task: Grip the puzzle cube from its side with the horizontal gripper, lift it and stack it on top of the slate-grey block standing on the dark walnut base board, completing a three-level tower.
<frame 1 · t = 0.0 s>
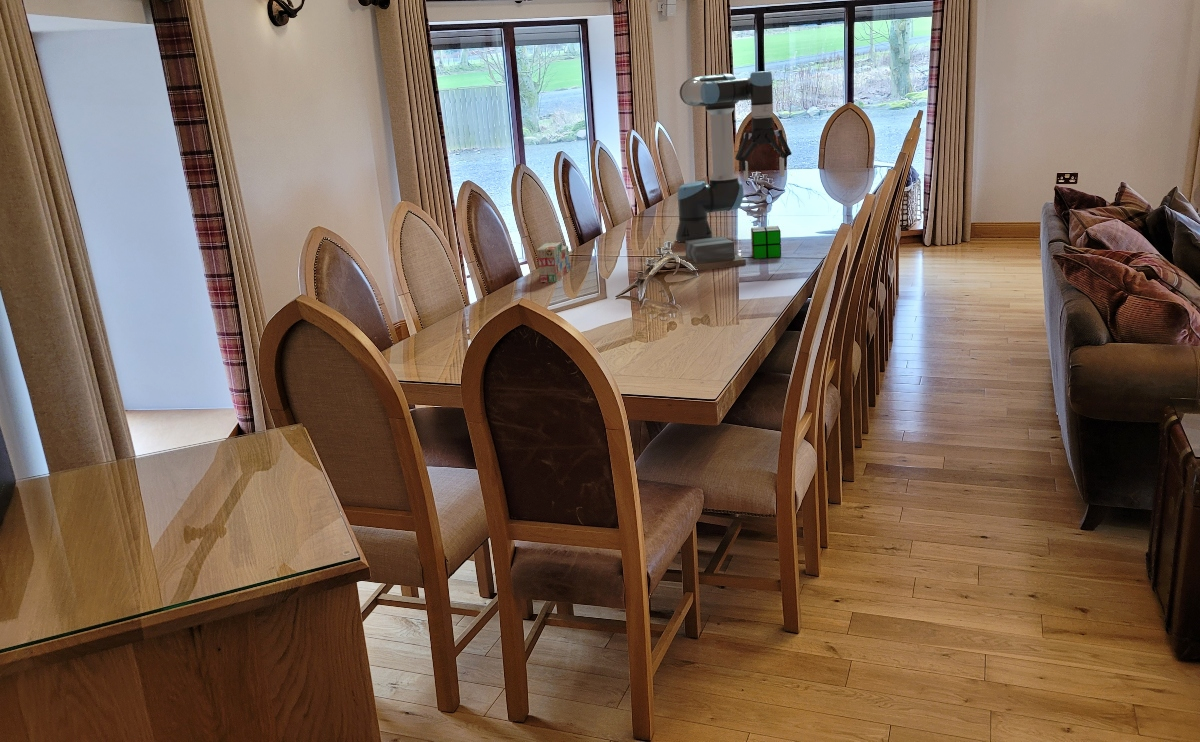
hand: (764, 178, 335), 28 cm above the table, tool pointing down, fingers open, 13 cm apart
tower base: (710, 263, 337), on the table
stack of blocks: (555, 277, 338), on the table
puzzle cube: (766, 256, 342), on the table
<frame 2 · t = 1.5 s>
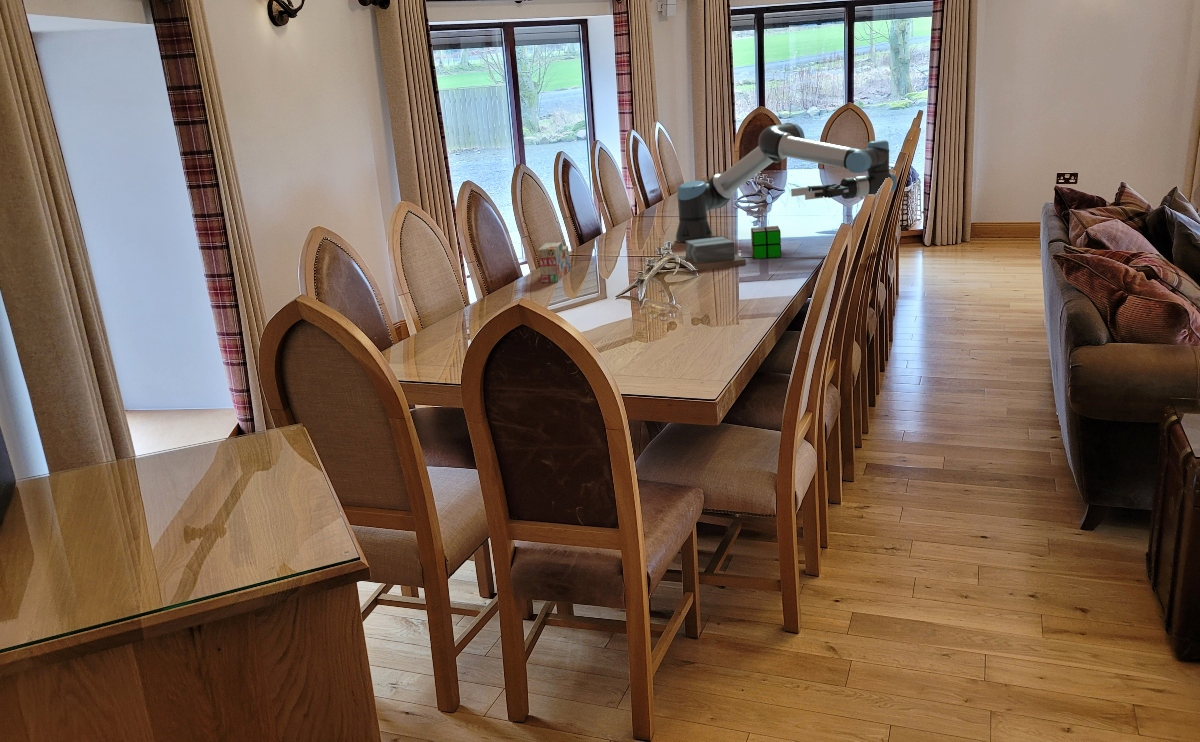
hand: (798, 194, 338), 21 cm above the table, tool horizontal, fingers open, 13 cm apart
nothing on the table moved.
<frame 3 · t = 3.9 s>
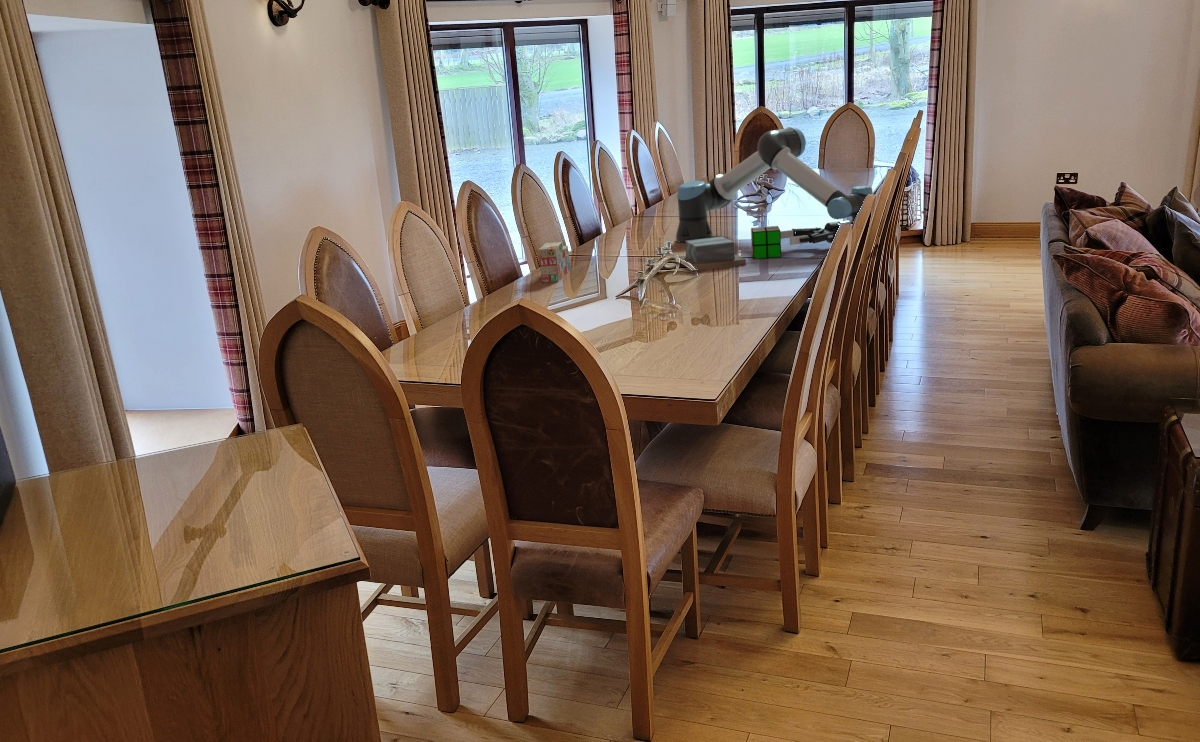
hand: (783, 238, 341), 6 cm above the table, tool horizontal, fingers open, 13 cm apart
nothing on the table moved.
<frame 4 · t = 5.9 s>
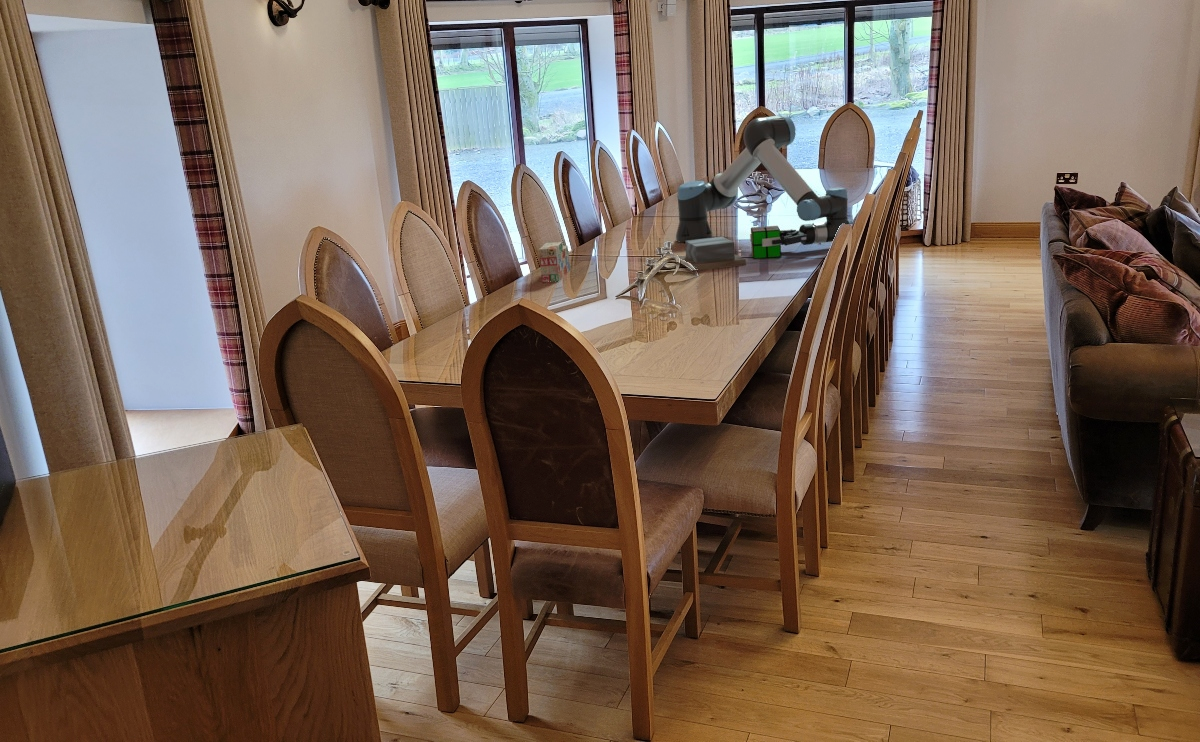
hand: (756, 240, 340), 6 cm above the table, tool horizontal, fingers closed on puzzle cube, 12 cm apart
puzzle cube: (766, 256, 343), on the table, touching gripper
everything else where it was.
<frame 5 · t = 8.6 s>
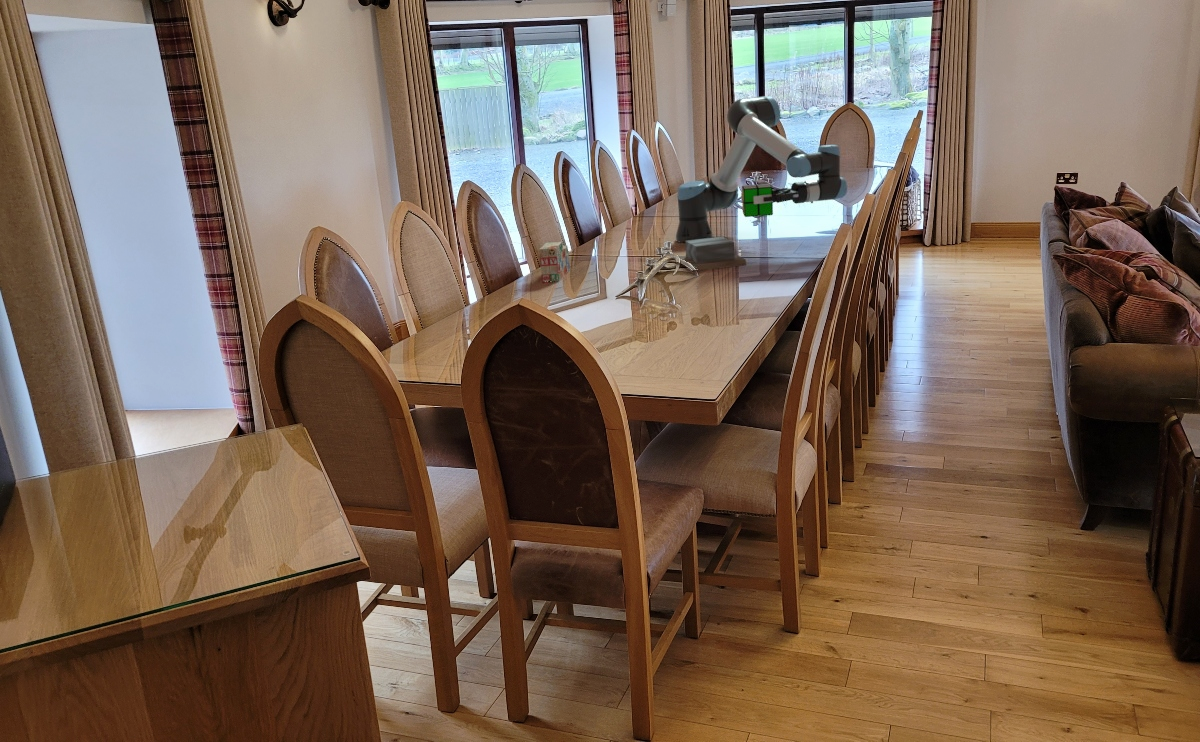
hand: (747, 198, 334), 22 cm above the table, tool horizontal, fingers closed on puzzle cube, 12 cm apart
puzzle cube: (757, 214, 336), point 15 cm above the table, touching gripper
when the fingers open (15 cm above the table, at t = 11.5 s): puzzle cube drops 1 cm, resting on tower base.
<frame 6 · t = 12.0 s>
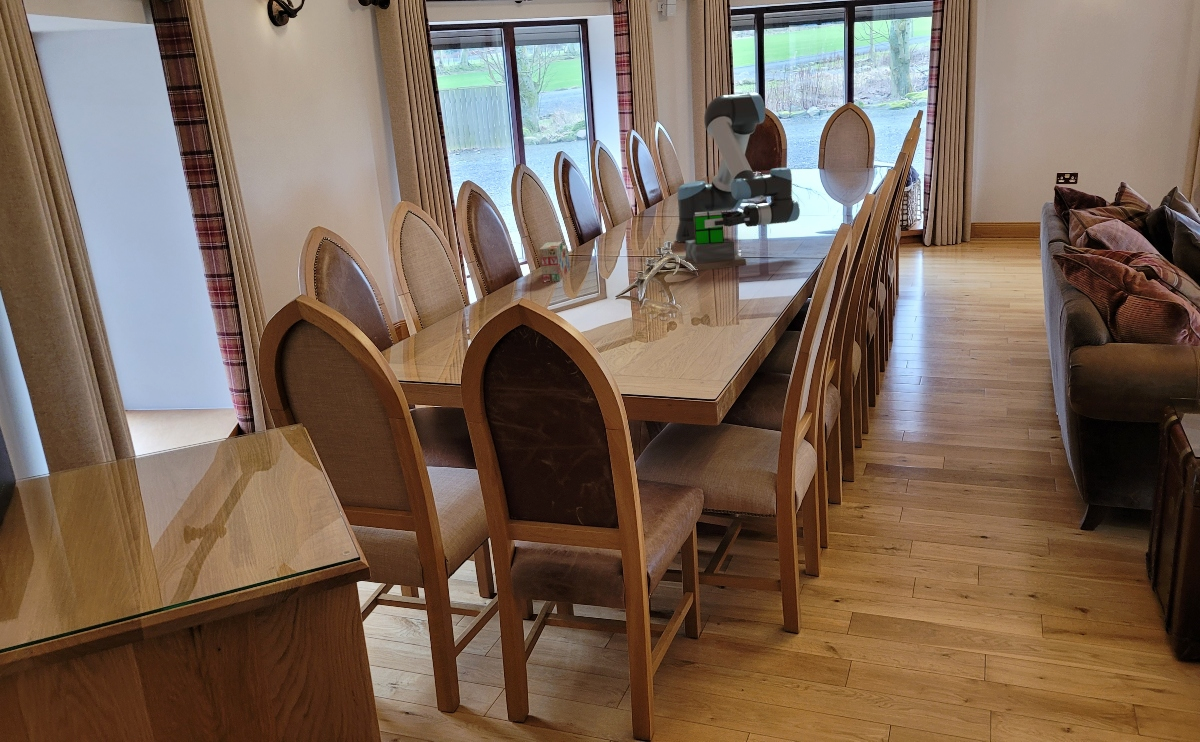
hand: (699, 221, 332), 15 cm above the table, tool horizontal, fingers open, 13 cm apart
puzzle cube: (709, 241, 335), point 8 cm above the table, touching tower base
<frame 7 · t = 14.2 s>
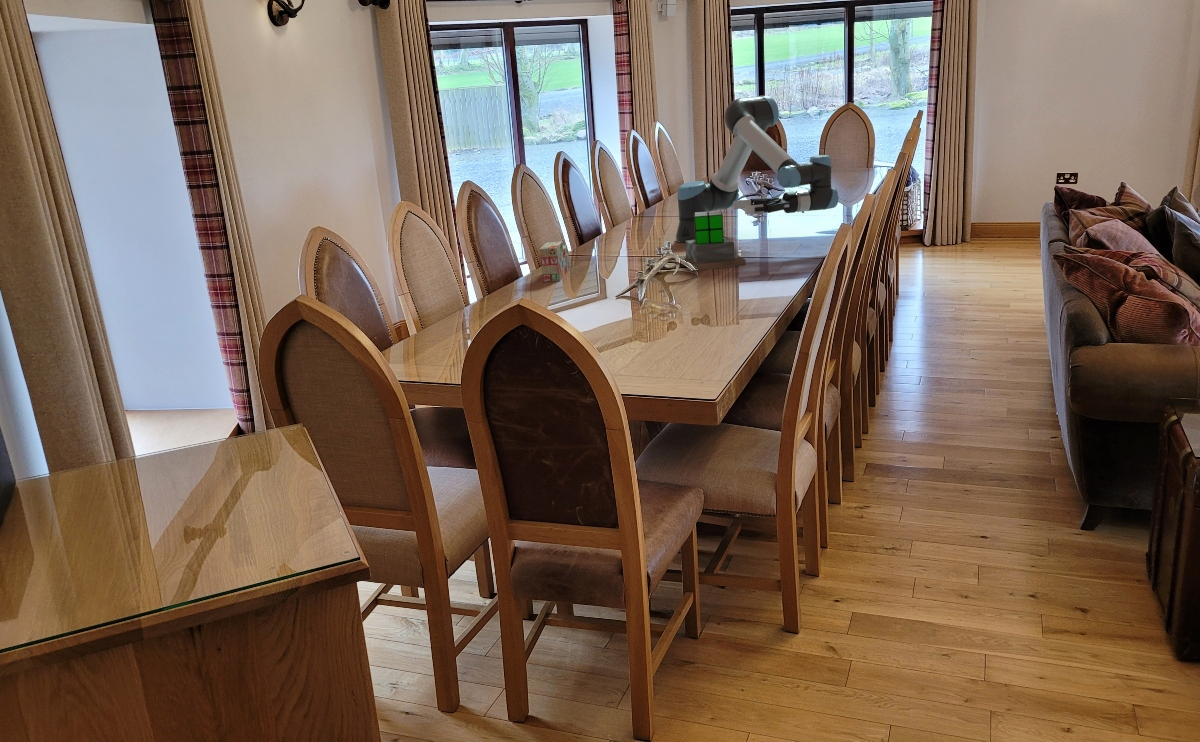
hand: (739, 207, 336), 18 cm above the table, tool horizontal, fingers open, 13 cm apart
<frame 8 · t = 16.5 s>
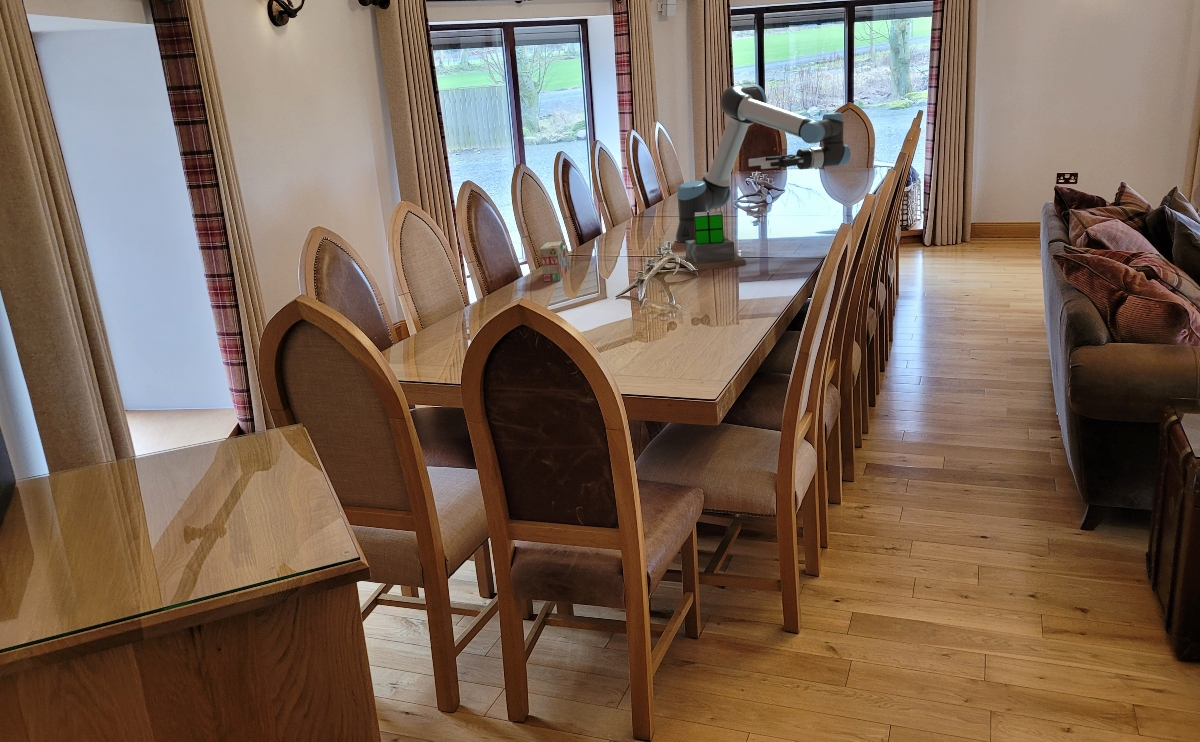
hand: (754, 164, 346), 32 cm above the table, tool horizontal, fingers open, 13 cm apart
at the end: puzzle cube inside the target area on the tower base (0.2 cm from its centre), point 7.8 cm above the tower base's base; puzzle cube tilted 0°; the gripper is holding nothing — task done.
